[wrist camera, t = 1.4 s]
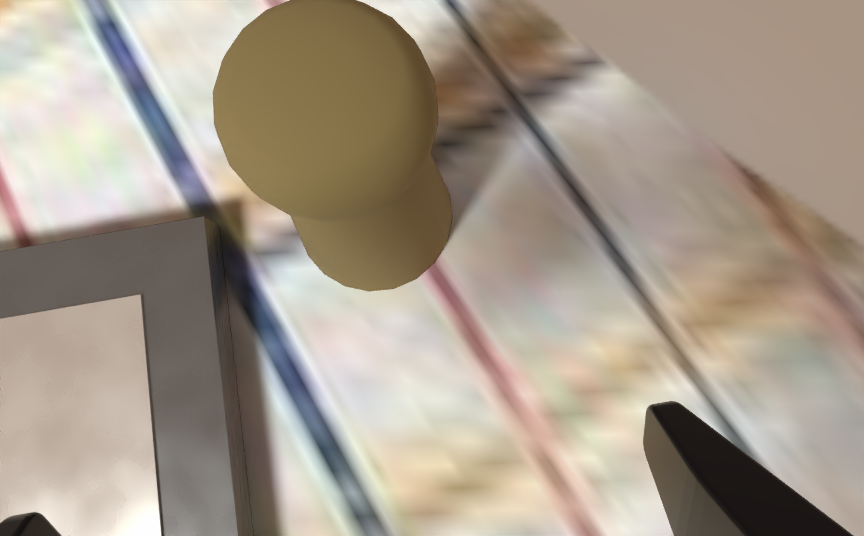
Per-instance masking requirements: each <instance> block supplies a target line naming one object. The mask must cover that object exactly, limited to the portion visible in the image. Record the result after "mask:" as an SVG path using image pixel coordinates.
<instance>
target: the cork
mask: <svg viewBox="0 0 864 536" xmlns="http://www.w3.org/2000/svg"><path fill="white" fill-rule="evenodd" d="M213 107H214V125H215V128H216V131H217V135H218V137H219V140H220V142H221V145H222V147H223V150H224V152H225V155H226V157H227V160H228V162H229V165H230V166H231V168H232V169H233V170H234V171H235V172H236V173H237V174H238V176H239V177H240V178H241V179H242V180H243V181H244V183H245V184H246V185H247V186H248V187H249V188H250V189H251V191H253V192H254V193H255V194H256V195H257V196H258V197H259V198H261V199H262V200H264V201H266V202H268V203H269V204H271V205H273V206H275V207H276V208H278V209H280V210H282V211H283V212H285V213H287V214H289V215H290V216H291V218H292V220H293V222H294V225H295V227H296V229H297V231H298V234H299V236H300V238H301V240H302V242H303V245H304V247H305V249H306V251H307V254H308V256H309V257H310V258H311V259H312V261H313V262H314V263H315V264H316V265H317V266H318V267H319V269H320V270H321V271H322V272H323V273H324V274H325V275H327V276H328V277H330V278H332V279H334V280H335V281H337V282H339V283H340V284H342V285H344V286H346V287H351V288H356V289H361V290H365V291H377V290H387V289H394V288H397V287H399V286H401V285H403V284H406V283H408V282H410V281H413V280H415V279H417V278H418V277H419V276H420V275H421V274H422V273H424V272H425V271H426V270H427V269H428V268H429V267H430V266H432V265H433V264H434V263H435V262H436V260H437V258H438V256H439V255H440V253H441V251H442V250H443V248H444V246H445V245H446V243H447V240H448V236H449V231H450V227H451V222H452V211H451V202H450V195H449V192H448V190H447V188H446V186H445V184H444V181H443V179H442V177H441V175H440V173H439V170H438V168H437V166H436V164H435V162H434V159H433V157H432V155H431V151H432V146H433V142H434V137H435V133H436V129H437V124H438V108H437V99H436V89H435V80H434V78H433V75H432V73H431V71H430V69H429V67H428V65H427V63H426V61H425V59H424V57H423V55H422V52H421V50H420V49H419V47H418V45H417V44H416V42H415V40H414V39H413V38H412V37H411V36H410V35H409V34H408V33H407V32H406V31H405V30H404V29H403V28H402V27H401V26H400V25H399V24H398V23H397V22H396V21H395V20H394V19H393V18H392V17H390V16H388V15H386V14H384V13H382V12H381V11H379V10H377V9H375V8H373V7H371V6H369V5H367V4H365V3H363V2H360V1H356V0H290V1H287V2H285V3H282V4H280V5H277V6H275V7H272V8H270V9H268V10H266V11H265V12H263V13H262V14H261V15H260V16H258V17H257V18H256V19H255V20H253V21H252V22H251V23H250V24H248V25H247V26H246V27H245V28H243V29H242V31H241V32H240V34H239V35H238V37H237V38H236V40H235V41H234V43H233V44H232V45H231V47H230V48H229V50H228V51H227V53H226V54H225V56H224V58H223V60H222V63H221V67H220V70H219V73H218V77H217V80H216V83H215V87H214V90H213Z"/></svg>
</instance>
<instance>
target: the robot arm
mask: <svg viewBox="0 0 864 536" xmlns="http://www.w3.org/2000/svg"><path fill="white" fill-rule="evenodd" d="M643 445H644V451H645V455H646V458H647V461H648V464H649V466H650V469H651V472H652V475H653V478H654V481H655V483H656V486H657V489H658V492H659V495H660V497H661V500H662V503H663V506H664V509H665V512H666V514H667V517H668V520H669V523H670V526H671V528H672V531H673V534H674V536H853V535H852V534H851V533H849V532H848V531H847V530H845V529H844V528H843V527H841V526H840V525H839V524H837V523H836V522H835V521H834V520H832V519H831V518H830V517H828V516H827V515H826V514H824V513H823V512H822V511H820V510H819V509H818V508H816V507H815V506H814V505H813V504H811V503H810V502H809V501H807V500H806V499H805V498H803V497H802V496H801V495H799V494H798V493H797V492H795V491H794V490H793V489H792V488H790V487H789V486H788V485H786V484H785V483H784V482H782V481H781V480H780V479H778V478H777V477H776V476H774V475H773V474H772V473H771V472H769V471H768V470H767V469H765V468H764V467H763V466H761V465H760V464H759V463H757V462H756V461H755V460H753V459H752V458H751V457H750V456H748V455H747V454H746V453H744V452H743V451H742V450H740V449H739V448H738V447H736V446H735V445H734V444H732V443H731V442H730V441H728V440H727V439H726V438H725V437H723V436H722V435H721V434H719V433H718V432H717V431H715V430H714V429H713V428H711V427H710V426H709V425H707V424H706V423H705V422H704V421H702V420H701V419H700V418H698V417H697V416H696V415H694V414H693V413H692V412H690V411H689V410H688V409H686V408H685V407H684V406H683V405H681V404H680V403H678V402H674V401H669V402H663V403H657V404H652V405H650V406H649V407H648V408H647V411H646V418H645V428H644V437H643ZM0 536H61V534H60V533H59V532H58V531H57V530H56V529H55V528H54V527H53V525H52V524H51V523H50V522H49V521H48V520H47V519H46V518H45V517H44V516H43V515H42V514H41V513H38V512H31V513H25V514H19V515H14V516H11V517H8V518H6V519H5V520H3V521H2V522H1V523H0Z"/></svg>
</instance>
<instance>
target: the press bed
mask: <svg viewBox="0 0 864 536" xmlns="http://www.w3.org/2000/svg"><path fill="white" fill-rule="evenodd" d="M31 512H38V513H41V514H42V515H43V516H44V517H45V518H46V519H47V520H48V521H49V522H50V523H51V524H52V525H53V527H54V528H55V529H56V530H57V531H58V532H59V533H60V534H61V536H254V534H253V525H252V517H251V508H250V499H249V490H248V481H247V472H246V463H245V454H244V445H243V436H242V427H241V418H240V409H239V400H238V391H237V382H236V373H235V364H234V355H233V346H232V337H231V329H230V320H229V311H228V302H227V293H226V284H225V275H224V266H223V257H222V248H221V239H220V230H219V226H218V225H216V224H215V223H213V222H212V221H210V220H209V219H207V218H206V217H204V216H203V217H197V218H191V219H185V220H180V221H174V222H168V223H162V224H156V225H151V226H145V227H139V228H133V229H128V230H122V231H116V232H110V233H104V234H99V235H93V236H87V237H81V238H76V239H70V240H64V241H58V242H52V243H47V244H41V245H35V246H29V247H24V248H18V249H12V250H6V251H0V523H1V522H2V521H3V520H5V519H6V518H8V517H11V516H14V515H19V514H25V513H31Z"/></svg>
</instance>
